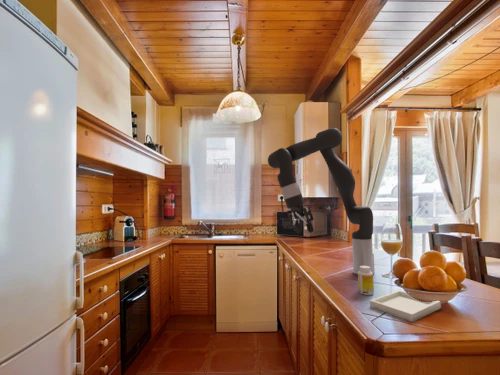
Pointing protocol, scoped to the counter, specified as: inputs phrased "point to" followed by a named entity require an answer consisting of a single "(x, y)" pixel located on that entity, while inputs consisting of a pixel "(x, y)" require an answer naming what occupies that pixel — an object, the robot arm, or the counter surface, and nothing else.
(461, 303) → the counter surface
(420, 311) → the tray
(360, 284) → the supplement bottle
